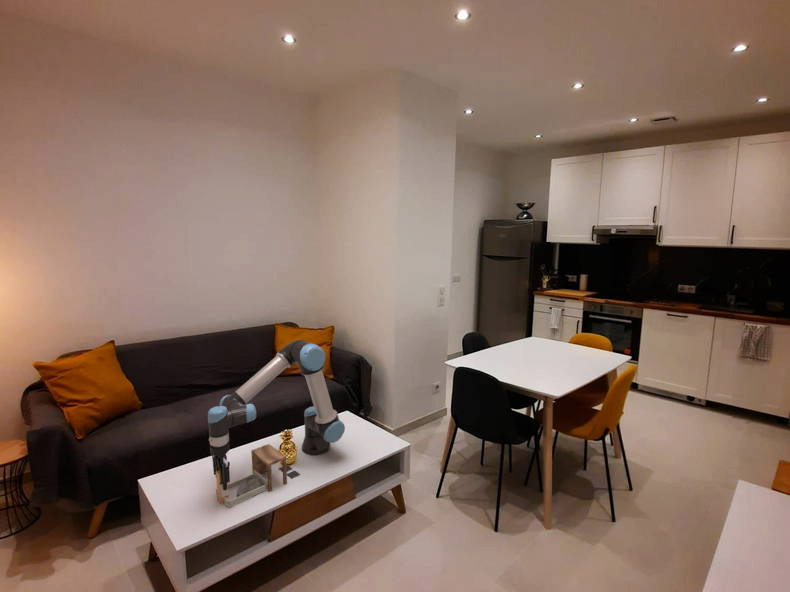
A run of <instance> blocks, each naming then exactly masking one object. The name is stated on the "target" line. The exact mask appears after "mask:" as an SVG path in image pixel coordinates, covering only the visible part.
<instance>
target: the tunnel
mask: <svg viewBox="0 0 790 592" xmlns="http://www.w3.org/2000/svg"><path fill="white" fill-rule="evenodd" d="M280 462H281V463H282V465H281V467H282V471H283V472H282V471H281V472H282V485H283V486H286V485H288V476H287V474H288V471H287V466H286V465H287V456H286V455H285V454H283V453H282V452H281V451H279V450H278V449H276V448H275V447H274V446H273V445H271V444H270V443H268V444H265V445H263V446H260V447H257V448H255V449H252V450H251V470H252V471H251V472H252V474H253V471H254V470H256V471H257V472H258V473H260V474H261V475H262V476H263V475H264V474H267V480H268V489H267V491H268V493H272V491H273V473H272V469H273V468H272V465H275V464H278V463H280Z"/></svg>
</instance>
